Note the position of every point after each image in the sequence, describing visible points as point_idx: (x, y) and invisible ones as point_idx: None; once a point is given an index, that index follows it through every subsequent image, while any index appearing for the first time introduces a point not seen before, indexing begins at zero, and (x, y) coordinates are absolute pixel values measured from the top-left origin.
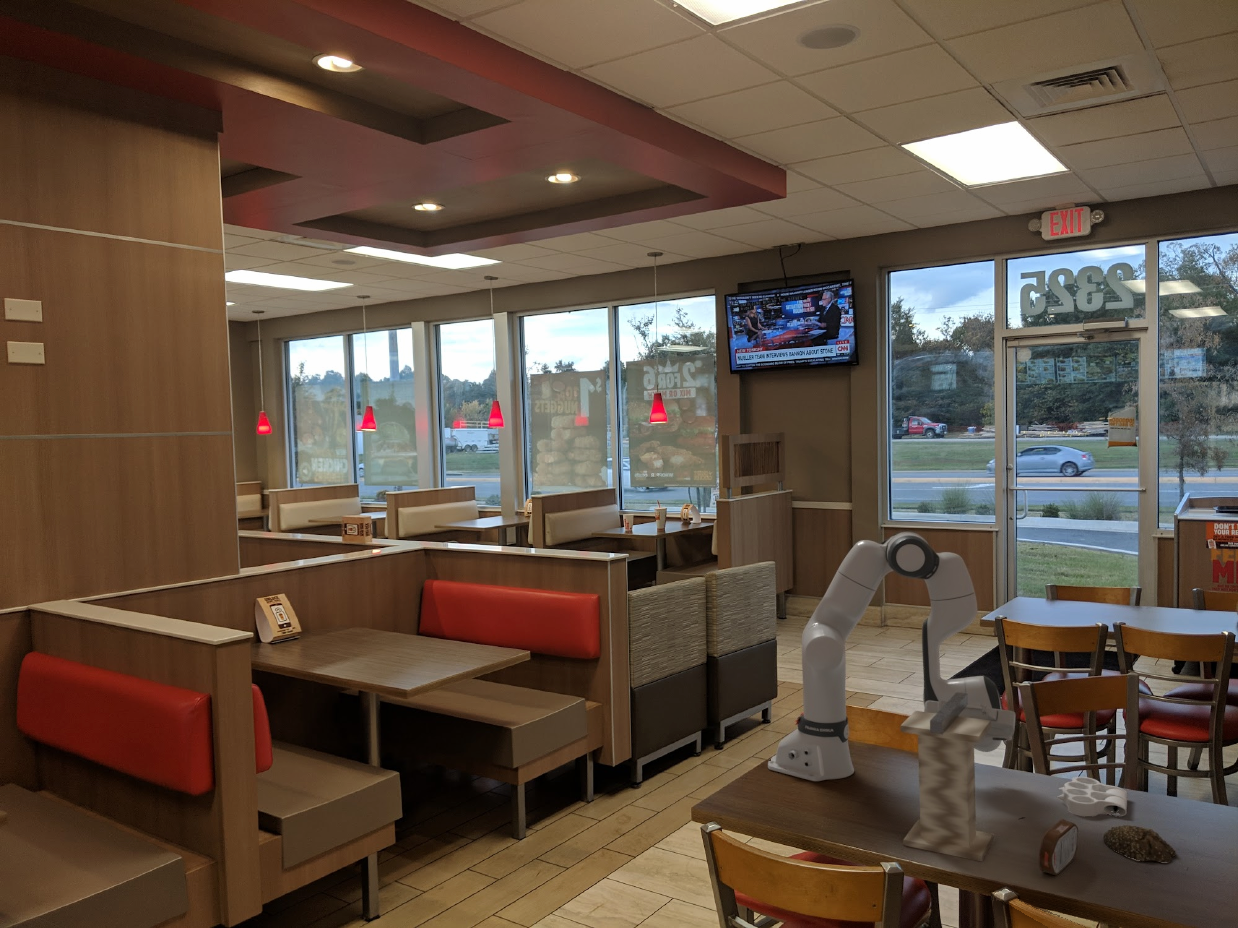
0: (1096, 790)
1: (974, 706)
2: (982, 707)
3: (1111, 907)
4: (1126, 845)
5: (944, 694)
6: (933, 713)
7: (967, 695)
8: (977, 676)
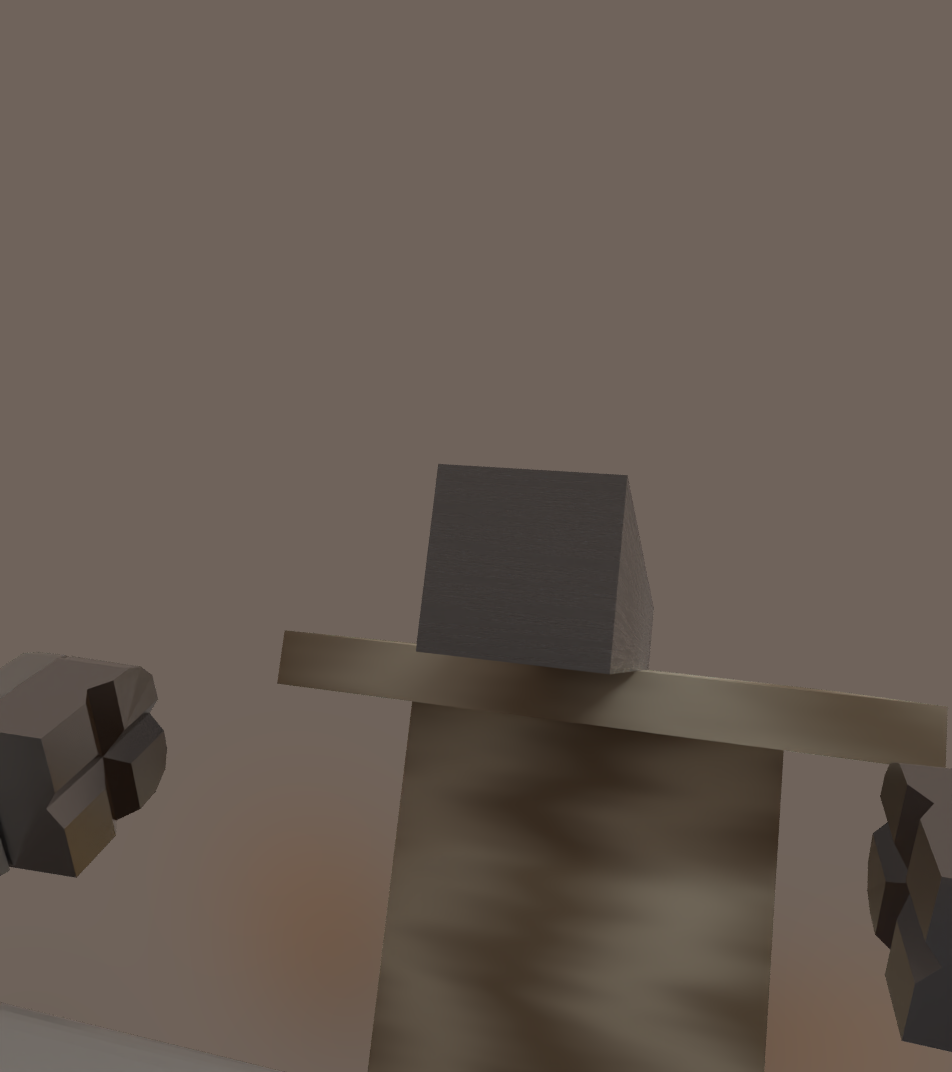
0: None
1: (18, 1017)
2: (143, 687)
3: None
4: None
5: None
6: (753, 686)
7: (441, 496)
8: None
